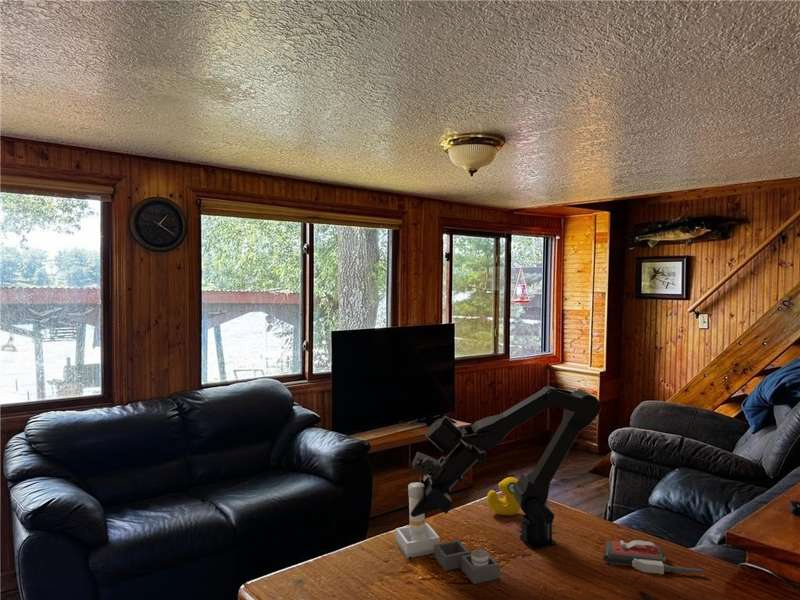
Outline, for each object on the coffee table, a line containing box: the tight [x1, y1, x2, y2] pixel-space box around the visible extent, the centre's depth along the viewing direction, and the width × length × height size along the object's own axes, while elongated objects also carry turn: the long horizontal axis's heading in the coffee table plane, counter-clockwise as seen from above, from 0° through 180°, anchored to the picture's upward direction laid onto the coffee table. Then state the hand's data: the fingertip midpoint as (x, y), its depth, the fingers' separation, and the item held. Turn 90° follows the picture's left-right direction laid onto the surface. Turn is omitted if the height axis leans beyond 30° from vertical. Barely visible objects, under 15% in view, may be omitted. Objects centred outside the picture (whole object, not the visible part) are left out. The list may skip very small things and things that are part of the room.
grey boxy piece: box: [460, 553, 501, 585], centre depth 120 cm, size 6×6×3 cm
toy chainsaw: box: [602, 539, 705, 575], centre depth 123 cm, size 9×4×20 cm
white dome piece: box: [470, 548, 490, 568], centre depth 120 cm, size 4×4×4 cm
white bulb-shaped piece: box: [407, 481, 426, 541], centre depth 132 cm, size 4×4×13 cm
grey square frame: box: [434, 539, 471, 571], centre depth 125 cm, size 6×6×3 cm
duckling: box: [486, 476, 522, 516], centre depth 149 cm, size 11×5×10 cm, turn 88°
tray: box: [395, 522, 441, 559], centre depth 132 cm, size 8×8×4 cm
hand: (411, 512), depth 132 cm, fingers closed on white bulb-shaped piece, 4 cm apart
